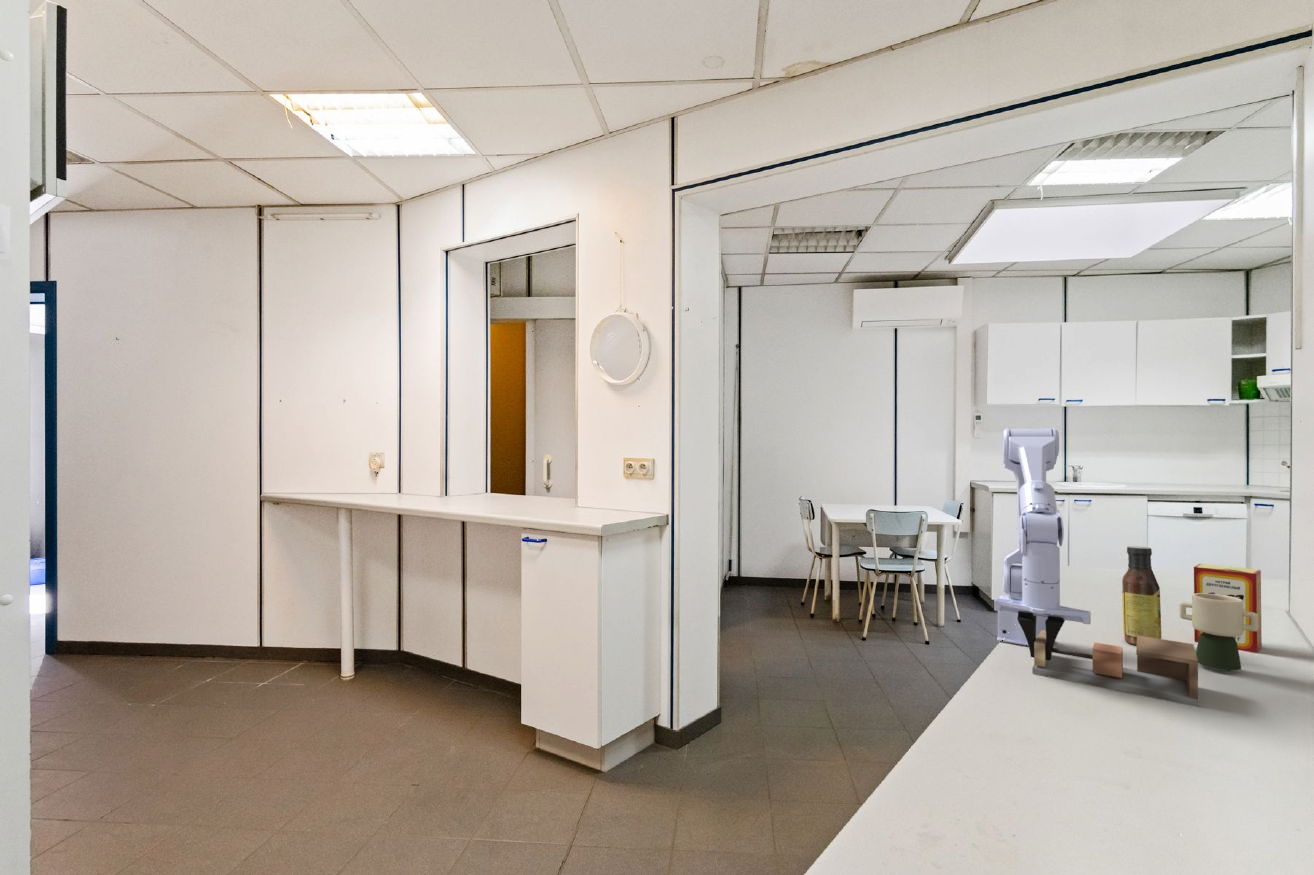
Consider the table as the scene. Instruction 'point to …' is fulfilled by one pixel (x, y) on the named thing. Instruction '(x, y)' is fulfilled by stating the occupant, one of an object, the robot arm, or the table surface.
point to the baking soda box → (1235, 585)
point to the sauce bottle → (1140, 597)
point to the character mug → (1218, 628)
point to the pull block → (1086, 656)
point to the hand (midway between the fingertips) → (1040, 657)
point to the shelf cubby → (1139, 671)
